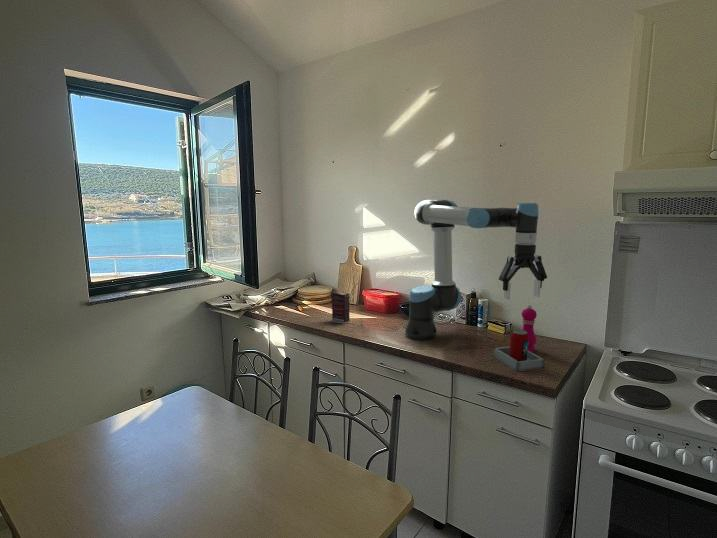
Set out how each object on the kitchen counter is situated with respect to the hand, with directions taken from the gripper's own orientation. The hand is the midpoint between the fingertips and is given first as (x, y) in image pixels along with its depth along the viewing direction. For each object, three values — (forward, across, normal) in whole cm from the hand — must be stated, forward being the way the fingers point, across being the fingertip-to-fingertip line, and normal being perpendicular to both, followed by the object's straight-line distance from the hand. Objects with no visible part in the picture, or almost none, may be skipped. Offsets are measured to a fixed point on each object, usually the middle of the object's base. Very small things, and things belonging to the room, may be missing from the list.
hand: (521, 297), depth 160 cm
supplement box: (+27, -56, +73) cm, 96 cm away
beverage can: (+26, 0, 0) cm, 26 cm away
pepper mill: (+27, +13, +11) cm, 31 cm away
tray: (+27, 0, 0) cm, 27 cm away
